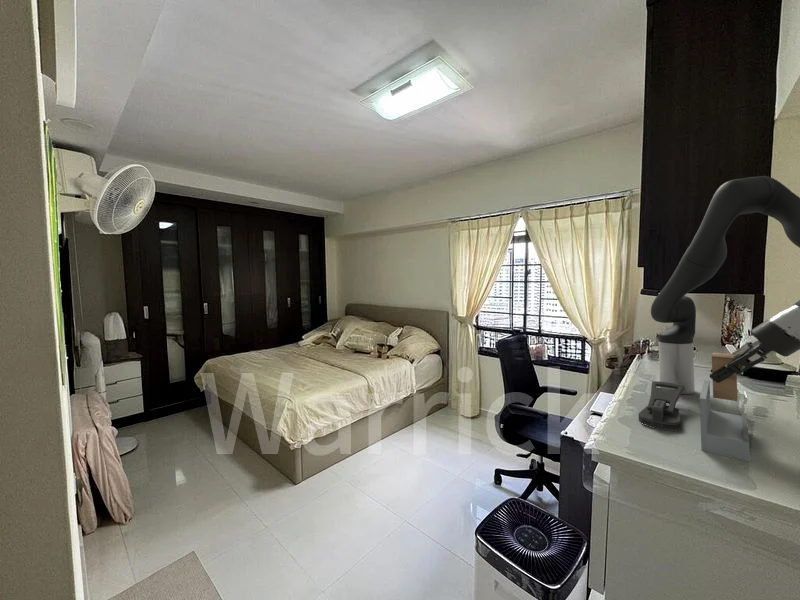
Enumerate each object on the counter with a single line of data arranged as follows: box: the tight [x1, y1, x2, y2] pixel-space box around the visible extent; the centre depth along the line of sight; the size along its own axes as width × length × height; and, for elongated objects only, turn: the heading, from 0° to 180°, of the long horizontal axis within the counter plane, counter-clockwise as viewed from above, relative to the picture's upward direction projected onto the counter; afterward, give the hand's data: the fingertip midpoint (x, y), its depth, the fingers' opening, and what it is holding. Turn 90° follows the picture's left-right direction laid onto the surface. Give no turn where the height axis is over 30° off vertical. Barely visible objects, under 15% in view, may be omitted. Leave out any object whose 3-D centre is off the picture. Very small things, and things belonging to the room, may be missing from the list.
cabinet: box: [711, 352, 740, 402], centre depth 76 cm, size 5×5×10 cm
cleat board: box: [699, 379, 751, 462], centre depth 76 cm, size 18×7×12 cm, turn 134°
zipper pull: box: [638, 380, 684, 432], centre depth 93 cm, size 9×7×25 cm
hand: (713, 376), depth 77 cm, fingers closed on cabinet, 5 cm apart
